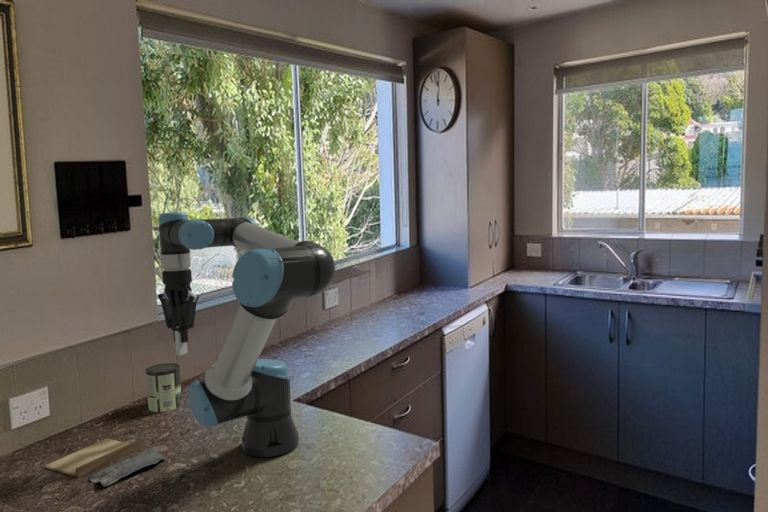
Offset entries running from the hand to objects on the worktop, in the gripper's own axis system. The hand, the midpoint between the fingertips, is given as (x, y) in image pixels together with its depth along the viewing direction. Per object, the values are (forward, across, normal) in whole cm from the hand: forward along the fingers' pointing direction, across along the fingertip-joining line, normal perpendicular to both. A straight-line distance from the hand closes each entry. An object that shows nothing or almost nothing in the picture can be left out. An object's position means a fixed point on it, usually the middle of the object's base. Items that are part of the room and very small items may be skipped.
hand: (181, 353), depth 158 cm
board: (+24, +15, +19) cm, 34 cm away
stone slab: (+24, +5, +19) cm, 31 cm away
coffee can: (+25, +24, -14) cm, 37 cm away
